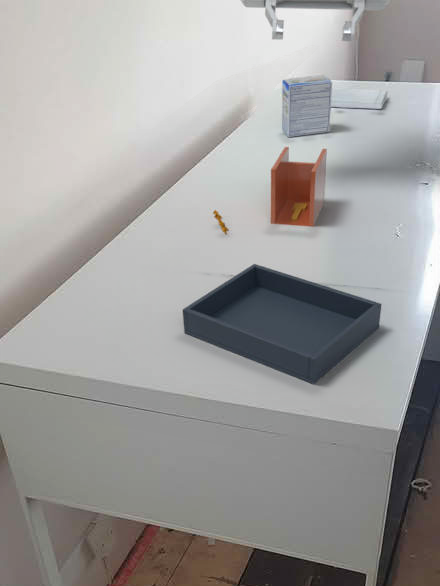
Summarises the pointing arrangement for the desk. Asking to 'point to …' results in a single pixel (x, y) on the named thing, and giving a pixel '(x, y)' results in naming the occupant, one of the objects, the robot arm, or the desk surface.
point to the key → (298, 210)
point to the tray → (283, 321)
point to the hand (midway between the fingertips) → (312, 38)
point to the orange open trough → (297, 189)
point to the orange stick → (220, 222)
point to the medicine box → (306, 105)
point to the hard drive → (358, 98)
